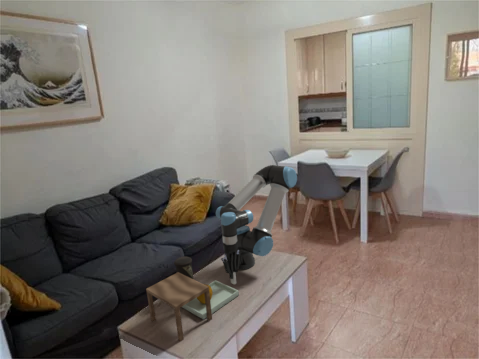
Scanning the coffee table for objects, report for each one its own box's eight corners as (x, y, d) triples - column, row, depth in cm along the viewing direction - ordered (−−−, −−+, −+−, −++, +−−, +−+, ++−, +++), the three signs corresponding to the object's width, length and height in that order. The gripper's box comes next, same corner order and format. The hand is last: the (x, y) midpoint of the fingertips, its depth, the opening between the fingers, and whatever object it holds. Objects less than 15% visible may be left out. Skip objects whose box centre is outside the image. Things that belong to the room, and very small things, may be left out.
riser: (182, 301, 167) (178, 272, 163) (212, 319, 152) (208, 286, 148) (151, 320, 154) (146, 288, 150) (180, 341, 139) (176, 306, 136)
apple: (192, 302, 164) (190, 286, 162) (206, 294, 169) (205, 279, 167) (202, 309, 158) (201, 292, 156) (217, 301, 163) (215, 285, 161)
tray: (215, 284, 180) (215, 280, 179) (239, 295, 169) (238, 290, 168) (180, 306, 163) (179, 301, 162) (203, 319, 152) (202, 314, 151)
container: (195, 297, 169) (191, 262, 165) (177, 299, 169) (172, 263, 164) (196, 288, 178) (192, 254, 173) (179, 290, 177) (174, 255, 173)
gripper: (233, 236, 179) (236, 275, 185) (216, 244, 170) (219, 286, 176) (244, 239, 174) (246, 280, 180) (226, 248, 165) (230, 291, 170)
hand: (233, 283), depth 178 cm, fingers closed
